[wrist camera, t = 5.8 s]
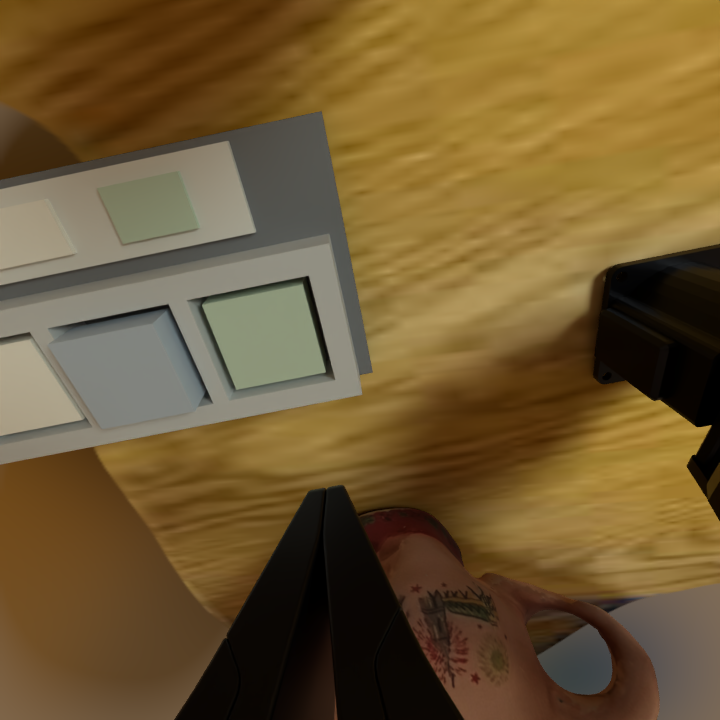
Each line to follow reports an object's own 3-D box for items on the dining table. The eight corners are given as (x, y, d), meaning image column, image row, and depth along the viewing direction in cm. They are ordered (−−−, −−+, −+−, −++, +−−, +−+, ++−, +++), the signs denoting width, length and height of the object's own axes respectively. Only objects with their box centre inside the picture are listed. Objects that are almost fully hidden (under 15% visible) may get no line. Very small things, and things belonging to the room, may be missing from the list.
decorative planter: (524, 424, 22) (758, 748, 10) (562, 542, 28) (743, 845, 16) (233, 538, 25) (141, 896, 13) (319, 624, 31) (311, 934, 19)
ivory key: (55, 323, 16) (29, 339, 15) (101, 399, 18) (82, 419, 17) (-34, 341, 16) (-68, 359, 15) (22, 415, 18) (-4, 436, 17)
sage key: (305, 273, 16) (302, 284, 15) (326, 355, 18) (325, 372, 17) (212, 292, 16) (202, 304, 15) (243, 371, 18) (236, 389, 17)
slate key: (168, 308, 15) (152, 323, 14) (206, 390, 17) (195, 411, 16) (73, 327, 15) (47, 344, 14) (120, 407, 17) (102, 429, 16)
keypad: (322, 114, 14) (320, 104, 12) (370, 362, 20) (376, 394, 17) (-151, 215, 15) (-254, 227, 12) (18, 431, 20) (-29, 472, 18)
